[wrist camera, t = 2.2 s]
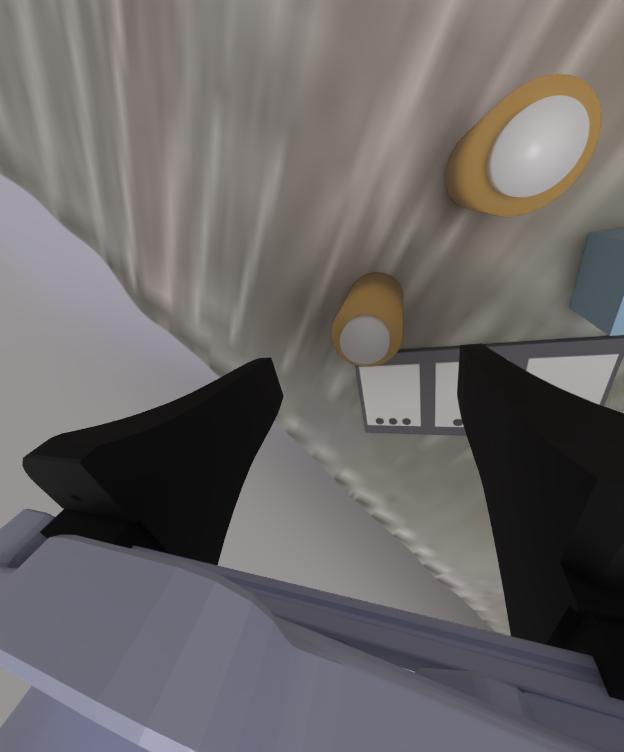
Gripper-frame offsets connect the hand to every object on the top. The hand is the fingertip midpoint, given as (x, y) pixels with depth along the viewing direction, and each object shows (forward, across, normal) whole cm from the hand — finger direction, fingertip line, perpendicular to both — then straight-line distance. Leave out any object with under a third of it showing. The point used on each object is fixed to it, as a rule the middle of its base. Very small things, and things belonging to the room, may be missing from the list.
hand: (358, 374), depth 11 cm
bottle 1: (+10, 0, 0) cm, 10 cm away
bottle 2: (+10, -6, -6) cm, 13 cm away
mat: (+10, -6, +8) cm, 14 cm away
